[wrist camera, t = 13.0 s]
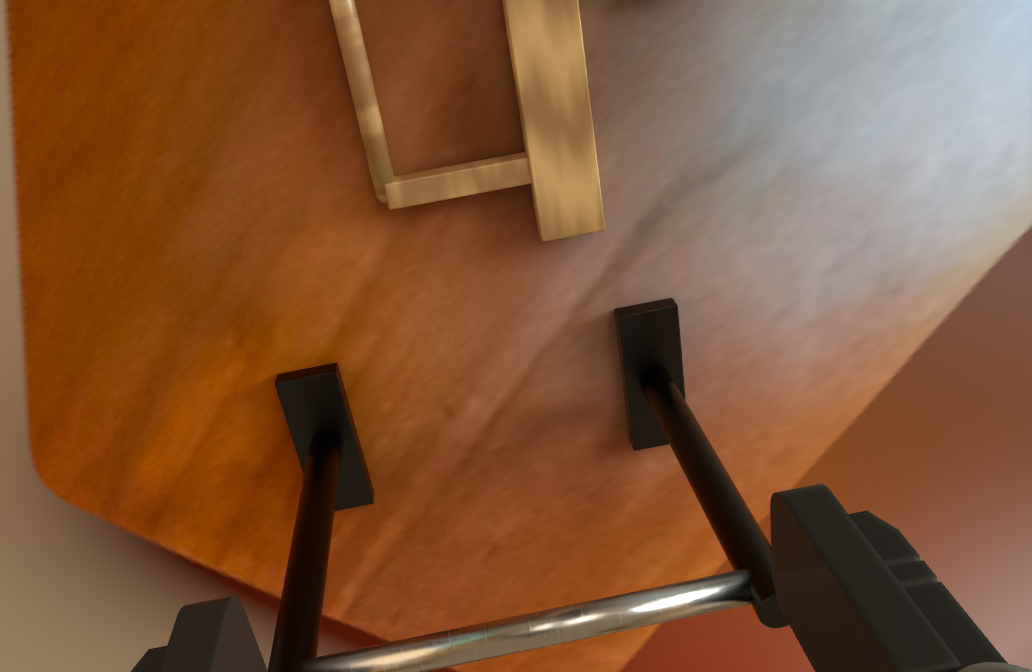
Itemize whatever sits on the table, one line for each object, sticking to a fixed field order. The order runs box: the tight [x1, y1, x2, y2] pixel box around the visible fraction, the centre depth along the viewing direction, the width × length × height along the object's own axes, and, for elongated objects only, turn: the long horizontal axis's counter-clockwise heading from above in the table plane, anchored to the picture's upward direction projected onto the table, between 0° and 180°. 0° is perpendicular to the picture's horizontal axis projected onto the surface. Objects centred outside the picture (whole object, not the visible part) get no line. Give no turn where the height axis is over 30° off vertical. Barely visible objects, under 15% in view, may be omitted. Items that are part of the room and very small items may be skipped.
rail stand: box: [268, 298, 789, 672], centre depth 37 cm, size 8×20×18 cm, turn 99°
